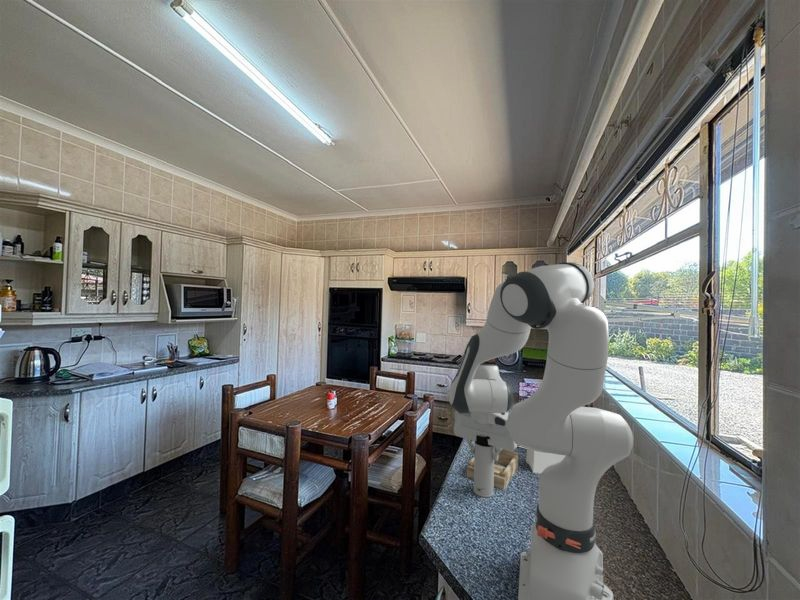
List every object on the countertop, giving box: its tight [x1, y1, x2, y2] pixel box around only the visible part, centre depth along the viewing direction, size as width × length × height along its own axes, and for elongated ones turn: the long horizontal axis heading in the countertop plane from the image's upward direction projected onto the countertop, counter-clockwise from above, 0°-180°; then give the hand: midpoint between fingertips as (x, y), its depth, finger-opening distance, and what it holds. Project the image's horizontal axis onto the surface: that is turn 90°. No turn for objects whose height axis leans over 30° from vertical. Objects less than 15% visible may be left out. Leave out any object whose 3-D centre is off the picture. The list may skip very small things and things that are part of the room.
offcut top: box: [473, 464, 504, 476], centre depth 111 cm, size 5×9×2 cm, turn 56°
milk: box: [525, 448, 566, 474], centre depth 120 cm, size 12×12×26 cm
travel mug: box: [473, 435, 495, 499], centre depth 102 cm, size 6×7×20 cm
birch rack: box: [466, 446, 519, 491], centre depth 115 cm, size 18×13×7 cm
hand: (483, 456), depth 102 cm, fingers closed on travel mug, 6 cm apart
